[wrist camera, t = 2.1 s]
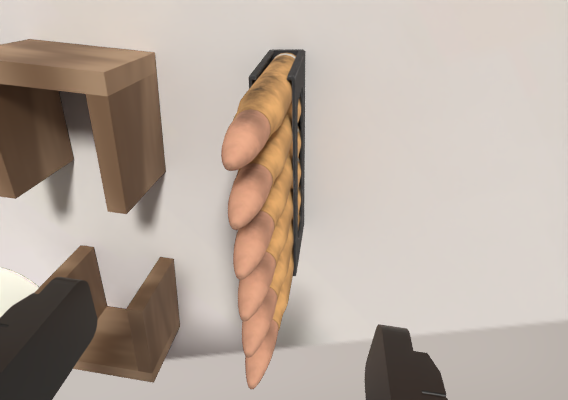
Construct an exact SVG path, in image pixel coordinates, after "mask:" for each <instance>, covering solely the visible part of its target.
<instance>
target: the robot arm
mask: <svg viewBox="0 0 568 400" xmlns="http://www.w3.org/2000/svg"><path fill="white" fill-rule="evenodd" d="M96 328H97V315H96V311H95V307H94V303H93V299H92V295H91V291H90V287H89V284H88V282H87V281H85V280H78V279H71V278H64V277H56V278H54V279H52V280H51V281H50V282H49V283H48V284H47V285H46V286H45V287H44V288H43V290H42V291H41V292H40V293H39V294H36V293H32V294H30V295H29V296H27V297H26V298H24V299H22V300H21V301H19V302H17V303H16V304H14V305H13V306H11V307H10V308H9V309H8V310H7V311H6V312H5V313H4V314H3V315H2V316H1V317H0V400H52V399H53V397H54V396H55V394H56V393H57V391H58V390H59V389H60V387H61V386H62V384H63V383H64V381H65V379H66V378H67V376H68V375H69V374H70V372H71V371H72V369H73V368H74V366H75V365H76V363H77V362H78V360H79V359H80V357H81V356H82V354H83V353H84V351H85V350H86V348H87V347H88V345H89V344H90V342H91V341H92V339H93V337H94V335H95V332H96ZM365 393H366V400H448V399H447V398H446V392H445V388H444V384H443V380H442V377H441V373H440V371H439V370H438V368H437V367H436V365H435V364H434V362H433V361H432V359H431V358H430V356H429V355H428V354H427V353H423V352H416V351H413V347H412V342H411V338H410V333H409V331H408V329H406V328H400V327H393V326H386V325H378V326H377V328H376V331H375V334H374V338H373V341H372V344H371V348H370V351H369V354H368V358H367V362H366V367H365Z"/></svg>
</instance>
